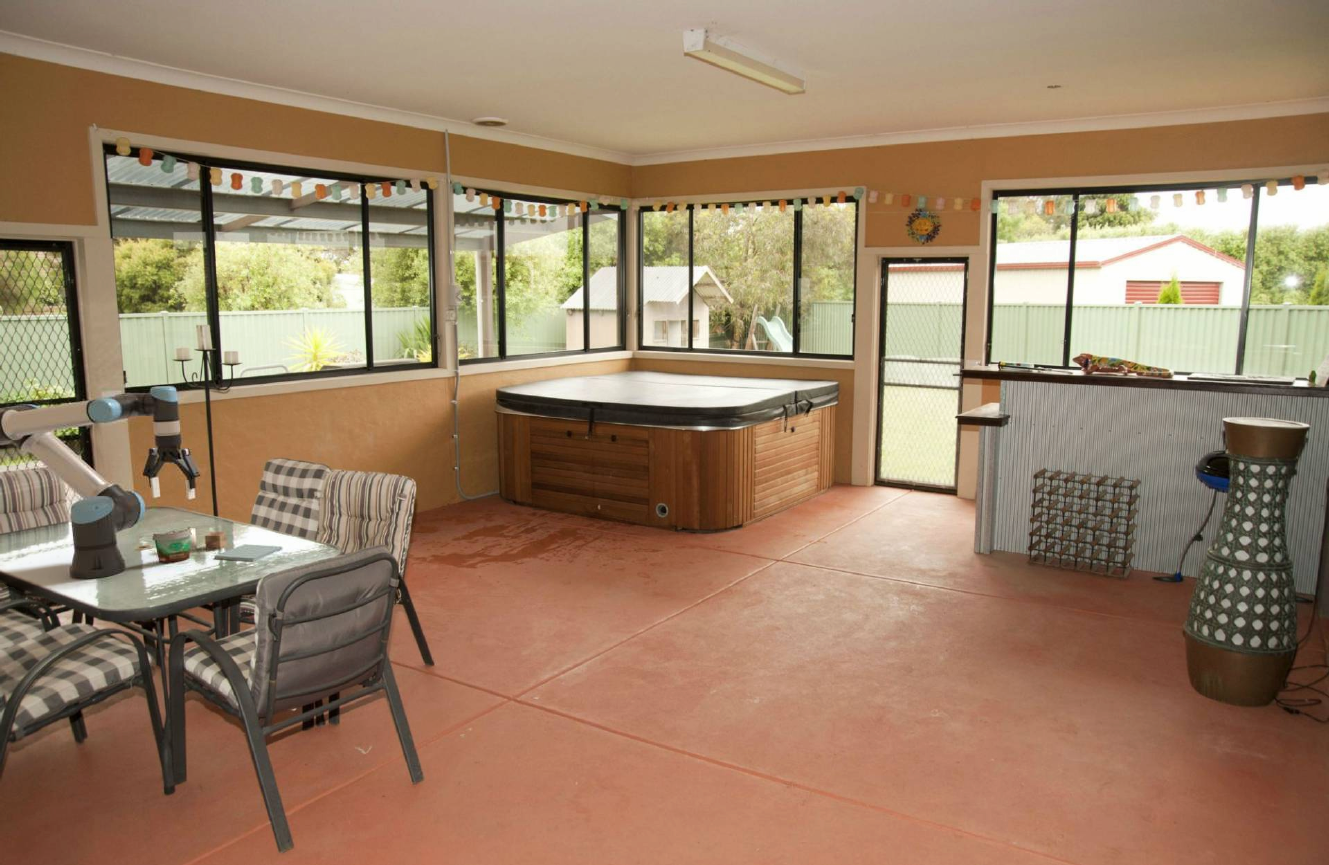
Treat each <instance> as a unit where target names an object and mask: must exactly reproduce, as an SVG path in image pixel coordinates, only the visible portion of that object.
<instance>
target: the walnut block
mask: <svg viewBox="0 0 1329 865" xmlns="http://www.w3.org/2000/svg"><path fill="white" fill-rule="evenodd" d="M204 539H205V540H204V541H205V542H204V543H205V550H206V549H219V550H222V549H223V548H226V547H227V546H228V539H227V532H226V531H217V532H216V531H213V532H209V533H208V534H205V535H204Z"/></svg>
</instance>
